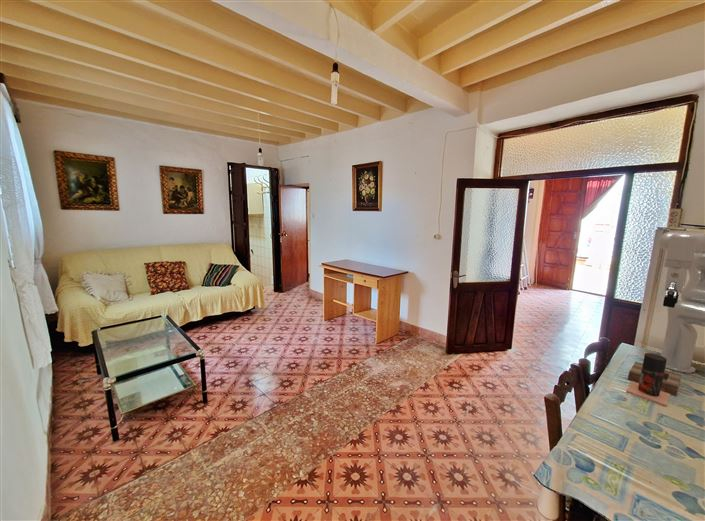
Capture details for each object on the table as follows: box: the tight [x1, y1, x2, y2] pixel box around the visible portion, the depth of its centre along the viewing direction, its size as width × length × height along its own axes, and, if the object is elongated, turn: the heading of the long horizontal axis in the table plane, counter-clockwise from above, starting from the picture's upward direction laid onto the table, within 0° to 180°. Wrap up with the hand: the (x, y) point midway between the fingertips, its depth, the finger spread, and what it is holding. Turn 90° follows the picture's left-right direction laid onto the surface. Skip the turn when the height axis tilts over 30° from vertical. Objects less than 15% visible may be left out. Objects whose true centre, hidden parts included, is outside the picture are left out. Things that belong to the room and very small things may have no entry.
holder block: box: [627, 361, 682, 397], centre depth 122 cm, size 14×14×4 cm
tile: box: [626, 381, 671, 408], centre depth 114 cm, size 11×11×1 cm
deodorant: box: [638, 352, 667, 397], centre depth 113 cm, size 6×6×15 cm
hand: (669, 304), depth 120 cm, fingers open, 9 cm apart
